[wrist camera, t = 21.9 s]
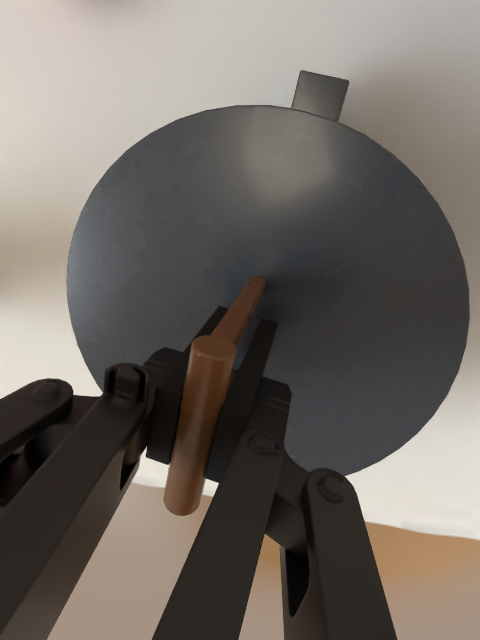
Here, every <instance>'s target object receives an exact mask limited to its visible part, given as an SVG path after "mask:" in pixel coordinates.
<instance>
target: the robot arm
mask: <svg viewBox="0 0 480 640" xmlns="http://www.w3.org/2000/svg"><path fill="white" fill-rule="evenodd" d="M228 310H229V309H228V308H225V307H222V306H218V308H217V309H216V310H215V312H214V313H213V314H212V315H211V317H210V318H209V319H208V321H207V322H206V323H205V324H204V326H203V327H202V328H201V330H200V331H199V332H198V333H197V335H196V336H195V337H194V339H193V340H192V341H191V342H190V344H189V345H188V346H187V348H186V349H185V350H184V351H183V352H180V351H177V350H174V349H171V348H167V347H165V348H162V349H160V350H158V351H155V352H154V353H153V354H152V355H151V356H150V357H149V358H148V360H147V361H146V362H145V363H144V364H143V365H142V366H140V365H138V364H133V363H118V364H115V365H112V366H110V367H108V368H107V369H105V377H104V392H103V394H102V395H101V396H99V397H90V396H79V395H73V389H72V386H71V385H70V384H69V383H67V382H66V381H63V380H60V379H50V378H48V379H42V380H37V381H35V382H32V383H30V384H28V385H26V386H24V387H22V388H20V389H18V390H17V391H15V392H13V393H11V394H9V395H7V396H6V397H4V398H2V399H0V640H47V638H48V636H49V634H50V632H51V630H52V628H53V627H54V625H55V623H56V621H57V619H58V617H59V616H60V614H61V612H62V610H63V608H64V606H65V604H66V603H67V601H68V599H69V597H70V595H71V593H72V591H73V589H74V588H75V585H76V584H77V582H78V580H79V578H80V576H81V575H82V573H83V571H84V569H85V567H86V565H87V563H88V561H89V560H90V558H91V556H92V554H93V552H94V550H95V548H96V547H97V545H98V543H99V541H100V539H101V537H102V535H103V533H104V532H105V530H106V528H107V526H108V524H109V522H110V520H111V518H112V517H113V515H114V513H115V511H116V509H117V507H118V506H119V504H120V502H121V500H122V498H123V496H124V494H125V492H126V490H127V489H128V486H129V485H130V483H131V481H132V479H133V478H134V476H135V474H136V472H137V470H138V467H139V463H140V456H141V454H142V453H143V451H144V450H145V448H146V447H147V452H146V457H147V458H150V459H152V460H155V461H158V462H161V463H164V464H167V465H169V463H170V460H171V454H172V449H173V443H174V438H175V433H176V427H177V422H178V416H179V411H180V405H181V400H182V395H183V389H184V384H185V378H186V373H187V367H188V362H189V356H190V351H191V346H192V342H193V341H194V340H195V339H196V338H198V337H200V336H205V335H211V334H212V333H213V331H214V330H215V328H216V327H217V326H218V324H219V323H220V321H221V320H222V318H223V317H224V316H225V314H226V313H227V311H228ZM277 326H278V323H276V322H272V321H269V320H266V319H262V318H261V320H260V323H259V325H258V327H257V329H256V332H255V334H254V336H253V338H252V341H251V343H250V345H249V347H248V350H247V352H246V354H245V356H244V359H243V361H242V363H241V365H240V368H239V370H238V372H237V374H236V377H235V379H234V381H233V383H232V386H231V388H230V390H229V392H228V395H227V397H226V399H225V403H224V404H223V406H222V408H221V412H220V416H219V420H218V424H217V428H216V432H215V436H214V440H213V445H212V449H211V453H210V457H209V461H208V465H207V469H206V473H205V477H204V478H206V479H209V480H212V481H215V482H218V483H219V485H218V488H217V490H216V492H215V494H214V497H213V499H212V502H211V504H210V506H209V508H208V511H207V513H206V515H205V518H204V520H203V522H202V524H201V527H200V529H199V532H198V534H197V536H196V538H195V541H194V543H193V545H192V548H191V550H190V552H189V554H188V557H187V559H186V561H185V564H184V566H183V568H182V571H181V573H180V575H179V578H178V580H177V582H176V585H175V587H174V589H173V591H172V594H171V596H170V599H169V601H168V603H167V605H166V608H165V610H164V612H163V615H162V617H161V619H160V621H159V624H158V626H157V629H156V631H155V633H154V635H153V638H152V640H238V639H239V634H240V631H241V626H242V623H243V619H244V615H245V611H246V606H247V603H248V598H249V595H250V590H251V586H252V582H253V578H254V574H255V570H256V566H257V562H258V558H259V554H260V550H261V546H262V542H263V538H264V534H266V535H268V536H269V537H270V538H272V539H273V540H274V541H276V542H277V543H278V544H280V563H281V581H282V602H283V622H284V640H397V637H396V633H395V629H394V626H393V622H392V619H391V615H390V611H389V608H388V604H387V601H386V597H385V594H384V590H383V586H382V583H381V579H380V576H379V572H378V568H377V565H376V561H375V558H374V554H373V551H372V547H371V543H370V540H369V536H368V533H367V529H366V526H365V522H364V518H363V515H362V511H361V508H360V504H359V500H358V497H357V493H356V491H355V489H354V487H353V485H352V484H351V483H350V482H349V481H348V480H347V478H346V477H344V476H343V475H341V474H340V473H338V472H337V471H334V470H331V469H328V468H317V469H314V470H312V471H311V472H308V471H307V470H305V469H304V468H302V467H301V466H299V465H298V464H297V463H295V462H294V461H293V460H292V459H291V458H290V457H289V455H288V453H287V452H286V449H285V446H284V439H285V433H286V427H287V421H288V415H289V409H290V403H291V397H292V393H291V391H290V388H289V386H288V384H285V383H282V382H279V381H276V380H272V379H269V378H266V377H263V374H264V370H265V367H266V363H267V360H268V357H269V353H270V350H271V346H272V343H273V339H274V336H275V333H276V329H277Z"/></svg>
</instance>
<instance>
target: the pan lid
mask: <svg viewBox="0 0 480 640" xmlns="http://www.w3.org/2000/svg"><path fill="white" fill-rule="evenodd" d="M67 297H68V306H69V312H70V318H71V324H72V327H73V330H74V334H75V337H76V341H77V344H78V347H79V349H80V351H81V354H82V356H83V358H84V361H85V363H86V365H87V367H88V369H89V371H90V372H91V374H92V376H93V378H94V380H95V381H96V383H97V385H98V386H99V388H100V389H101V390H102V392H104V377H105V369H107V368H108V367H110V366H112V365H115V364H118V363H133V364H138V365H140V366H142V365H143V364H144V363H145V362H146V361H147V360H148V358H149V357H150V356H151V355H152V354H153V353H154V352H155V351H158V350H160V349H162V348H165V347H167V348H171V349H174V350H177V351H180V352H183V351H184V350H185V349H186V348H187V346H188V345H189V344H190V342H191V341H192V340H193V339H194V337H195V336H196V335H197V333H198V332H199V331H200V330H201V328H202V327H203V326H204V324H205V323H206V322H207V321H208V319H209V318H210V317H211V315H212V314H213V313H214V312H215V310H216V309H217V308H218V306H222V307H225V308H228V309H229V310H228V311H227V313H226V314H225V316H224V317H223V318H222V320H221V321H220V323H219V324H218V326H217V327H216V328H215V330H214V331H213V333H212V334H211V335H205V336H200V337H198V338H196V339H195V340H194V341H193V342H192V346H191V351H190V356H189V362H188V367H187V373H186V378H185V384H184V389H183V395H182V400H181V405H180V411H179V416H178V422H177V427H176V433H175V438H174V443H173V449H172V454H171V460H170V465H169V471H168V476H167V482H166V487H165V492H164V504H165V506H166V508H167V509H168V510H169V511H170V512H171V513H173V514H175V515H179V516H185V515H189V514H191V513H193V512H194V511H195V510H196V509H197V508H198V506H199V504H200V500H201V496H202V492H203V488H204V484H205V480H206V478H204V477H205V473H206V469H207V465H208V461H209V457H210V453H211V449H212V445H213V440H214V436H215V432H216V428H217V424H218V420H219V416H220V412H221V408H222V406H223V404H224V403H225V399H226V397H227V395H228V392H229V390H230V388H231V386H232V383H233V381H234V379H235V377H236V374H237V372H238V370H239V368H240V365H241V363H242V361H243V359H244V356H245V354H246V352H247V350H248V347H249V345H250V343H251V341H252V338H253V336H254V334H255V332H256V329H257V327H258V325H259V323H260V320H261V318H262V319H266V320H269V321H272V322H276V323H278V326H277V329H276V333H275V336H274V339H273V343H272V346H271V350H270V353H269V357H268V360H267V363H266V367H265V370H264V374H263V377H266V378H269V379H272V380H276V381H279V382H282V383H285V384H288V386H289V388H290V391H291V393H292V397H291V403H290V409H289V415H288V421H287V427H286V433H285V439H284V446H285V449H286V452H287V453H288V455H289V457H290V458H291V459H292V460H293V461H294V462H295V463H297V464H298V465H299V466H301V467H302V468H304V469H305V470H307V471H308V472H311V471H312V470H314V469H317V468H328V469H331V470H334V471H337V472H338V473H340V474H341V475H343V476H346V475H349V474H352V473H355V472H358V471H360V470H362V469H364V468H367V467H369V466H371V465H373V464H375V463H377V462H379V461H381V460H382V459H384V458H385V457H387V456H389V455H390V454H392V453H393V452H395V451H396V450H398V449H399V448H401V447H402V446H403V445H404V444H405V443H406V442H408V441H409V440H410V439H411V438H412V437H414V436H415V435H416V434H417V433H418V432H419V431H420V430H421V429H422V428H423V427H424V425H425V424H426V423H427V422H428V421H429V420H430V419H431V418H432V417H433V415H434V414H435V412H436V411H437V409H438V408H439V406H440V405H441V403H442V402H443V401H444V399H445V398H446V396H447V394H448V392H449V390H450V388H451V386H452V384H453V382H454V380H455V378H456V375H457V373H458V371H459V368H460V364H461V361H462V358H463V354H464V351H465V348H466V343H467V335H468V328H469V320H470V307H469V287H468V281H467V276H466V271H465V265H464V260H463V257H462V255H461V252H460V249H459V246H458V243H457V241H456V238H455V235H454V232H453V230H452V228H451V226H450V225H449V223H448V221H447V219H446V217H445V216H444V214H443V212H442V210H441V208H440V206H439V205H438V203H437V202H436V200H435V199H434V198H433V196H432V195H431V194H430V193H429V191H428V190H427V189H426V187H425V186H424V185H423V184H422V182H421V181H420V180H419V178H418V177H417V176H416V175H415V174H414V173H413V172H411V171H410V170H409V169H408V168H407V167H406V166H405V165H404V164H403V163H402V162H401V161H400V160H399V159H398V158H397V157H396V156H395V155H393V154H392V153H391V152H389V151H388V150H386V149H385V148H383V147H382V146H381V145H379V144H378V143H376V142H375V141H373V140H372V139H370V138H369V137H367V136H366V135H364V134H362V133H360V132H358V131H356V130H354V129H352V128H350V127H348V126H346V125H344V124H342V123H340V122H338V121H335V120H333V119H329V118H326V117H323V116H320V115H317V114H313V113H310V112H307V111H304V110H298V109H292V108H285V107H278V106H271V105H236V106H230V107H224V108H217V109H211V110H205V111H202V112H199V113H196V114H193V115H190V116H187V117H184V118H181V119H178V120H175V121H173V122H171V123H169V124H167V125H165V126H163V127H162V128H160V129H158V130H156V131H154V132H152V133H150V134H149V135H147V136H146V137H144V138H143V139H142V140H140V141H139V142H138V143H136V144H135V145H133V146H132V147H131V148H129V149H128V150H127V151H126V152H125V153H124V154H123V155H122V156H121V157H120V158H119V159H118V160H117V161H116V162H115V163H114V164H113V165H112V166H111V167H110V168H109V169H108V170H107V172H106V173H105V174H104V176H103V177H102V178H101V180H100V181H99V182H98V184H97V185H96V186H95V188H94V189H93V191H92V193H91V194H90V196H89V198H88V200H87V202H86V204H85V206H84V207H83V209H82V211H81V214H80V217H79V219H78V222H77V225H76V228H75V230H74V233H73V238H72V242H71V247H70V252H69V256H68V268H67Z"/></svg>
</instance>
